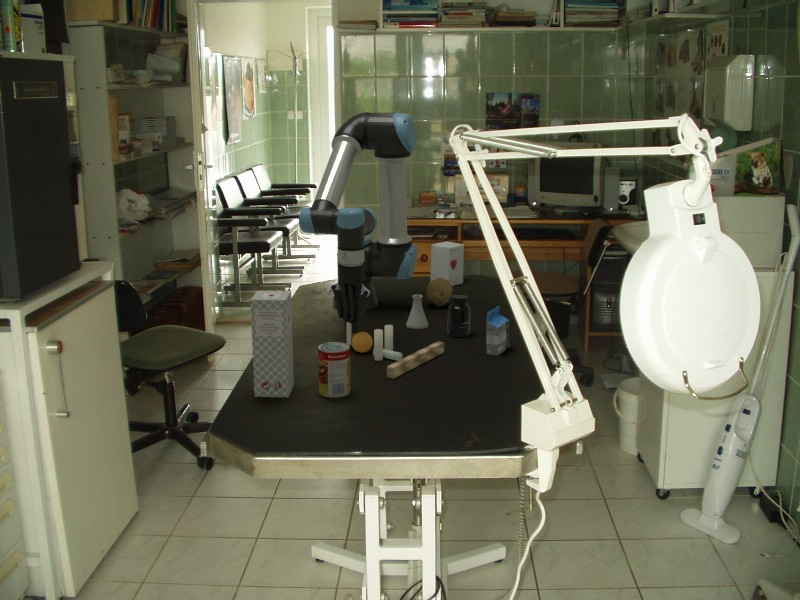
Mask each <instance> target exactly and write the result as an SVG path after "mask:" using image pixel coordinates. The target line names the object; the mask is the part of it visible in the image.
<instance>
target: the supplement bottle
mask: <svg viewBox="0 0 800 600" xmlns="http://www.w3.org/2000/svg"><path fill="white" fill-rule="evenodd" d="M468 298H469V297H468V296H467V295H464V294H454V295H453V294H452V295H451V304H449V306H448V308H447V335H448V336H450V337H453V338H465V337H468V336H469V335H470V331H471V330H470V329H471V306H470V305H469V304H468V303H469V302H468Z"/></svg>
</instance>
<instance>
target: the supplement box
mask: <svg viewBox="0 0 800 600" xmlns="http://www.w3.org/2000/svg"><path fill="white" fill-rule="evenodd" d="M430 248H431V249H430V251H431V253H430V282H431V281H432V280H434V279H436V278H443V279H446V280H448V281H449V283H450V284H451V285H452V287H454V286H457V285H461V284H463V283H464V262H465V260H464V257H465V256H464V255H465V254H464V253H465V244H463V243H457V242H453V241H442V242H437V243H433V244H431V247H430Z"/></svg>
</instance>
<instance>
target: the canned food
mask: <svg viewBox="0 0 800 600" xmlns="http://www.w3.org/2000/svg"><path fill="white" fill-rule="evenodd" d="M350 346H351V345H348V344H347V342H346V343H345V342H342V341H341V342H339V341H328V342H323V343H321V344H319V345H318V346H317V351H318V353H317V355H318V356H317V359H318V363H317V364H318V393H319V395H321V396H322V397H325V398H331V399H333V398H334V399H335V398H342V397H346V396H348V395H350V394H351V349H350Z"/></svg>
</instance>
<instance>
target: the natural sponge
mask: <svg viewBox="0 0 800 600" xmlns="http://www.w3.org/2000/svg"><path fill="white" fill-rule="evenodd" d="M453 291H454V289H453V286H452V285H451V284H450V283H449V281H448V280H446V279H443V278H436V279H434V280H432V281H431V280H430V281H429V283H428V284H427V286H426V289H425V295H426V299H428V301H430V302H431V303H433V304H434V305H435V307H436V306H437V307H438V308H439V307H443V306H445V305H446V304H447V303H448V302H449V300H450V298H452V296H453Z"/></svg>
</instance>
